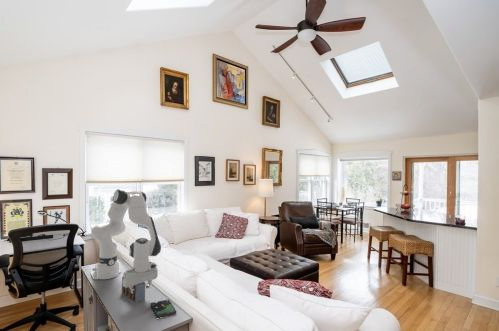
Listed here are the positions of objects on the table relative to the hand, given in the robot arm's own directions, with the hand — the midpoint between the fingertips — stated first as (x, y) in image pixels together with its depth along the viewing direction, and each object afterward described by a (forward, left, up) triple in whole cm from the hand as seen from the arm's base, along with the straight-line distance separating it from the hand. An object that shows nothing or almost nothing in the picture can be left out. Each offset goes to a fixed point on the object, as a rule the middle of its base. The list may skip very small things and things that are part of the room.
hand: (140, 290), depth 158 cm
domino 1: (-18, 0, -6) cm, 19 cm away
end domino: (0, 0, -6) cm, 6 cm away
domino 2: (-13, 0, -6) cm, 15 cm away
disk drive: (+20, +3, -7) cm, 21 cm away
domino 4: (-4, 0, -6) cm, 8 cm away
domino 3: (-9, 0, -6) cm, 11 cm away
